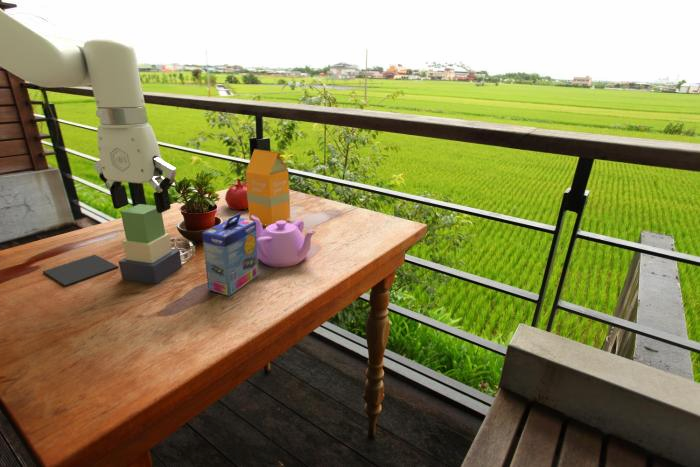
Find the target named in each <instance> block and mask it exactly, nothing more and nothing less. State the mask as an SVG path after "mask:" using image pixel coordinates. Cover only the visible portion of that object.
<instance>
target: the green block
mask: <svg viewBox="0 0 700 467" xmlns="http://www.w3.org/2000/svg"><path fill="white" fill-rule="evenodd" d="M120 217H121V221H122V224H123V225H122V226H123V231H124V236H125V240H127V241H135V242H142V243H150V242H152V241H153V240H155V239H157V238H159V237H161V236H163V235H165V233H166V230H165V224H164V218H163V212H162V213H158V212H157V210H156V205H152V204H142V203H139V204H136V205H134V206H131V207H129V208H126V209H124V210H121V211H120Z"/></svg>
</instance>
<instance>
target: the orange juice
mask: <svg viewBox="0 0 700 467" xmlns="http://www.w3.org/2000/svg"><path fill="white" fill-rule="evenodd" d="M289 178H290V177H289V169H288V167H287V166H286V164H285V162H284V161H283V159H282V157H281V155H280V153H279V152H278V151H273V150H264V149H257V148H254V149H253V152H252V155H251V157H250V159H249V162H248V164H247V167H246V169H245V181H246V182H245V183H246V184H247V199H248V209H247V210H248V220H253V218H252V217H251V215H254V216H256V217H257V218H258V219H259V220H260V222H261V223H262V224H261V225H262V226H264V227H267V226H269V225H271V224H275V223H276V221H280V220H283V221H285V220H286V223H289V222H290V221H291V203H290V201H291V199H290V198H291V197H290V179H289ZM289 218H290V219H289ZM287 219H289V220H287ZM253 221H254V220H253ZM265 224H266V225H265Z"/></svg>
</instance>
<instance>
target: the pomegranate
mask: <svg viewBox="0 0 700 467" xmlns="http://www.w3.org/2000/svg"><path fill="white" fill-rule="evenodd" d="M227 186H228V190H226V193H225V196H224V200H225V202H226V204H227V206H228V207H229V208H230V209H232V208H233V209H232V210H233V211H234V210H235V211H242V210H241V209H244V210H243V211H245V210H248V209H247V208H248V199H247V184H246V180H245V181H243V182H242V180H241V178H237V179H236V184H234V183H229V184H227ZM229 186H230V187H229Z"/></svg>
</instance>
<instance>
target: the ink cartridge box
mask: <svg viewBox="0 0 700 467" xmlns="http://www.w3.org/2000/svg"><path fill="white" fill-rule="evenodd" d="M241 216H242V212H238V213H237V214H235V215H233V216H231V217H229V218H228V219H227V220H225V221H223V222H222V223H219V224H216V225H214V226H212V227H210V228H207V229H206V230H204V231H203V232H201V237H202V245H203V253H204V262H205V271H206V280H207V289H208V291H212V292H215V293H218V294H221V295H223V296H227V297H231V295H233V294H235V293H236V292H237V291H239V290H240V289H241V288H242V287H244V286H245V285H247V284H248V283H249V282H251V281H253V280H254V279H256V278H257V277H259V263H258V262H259V261H258V260H259V259H258V257H257V237H256V221H253V220H249V218H243V217H241Z"/></svg>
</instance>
